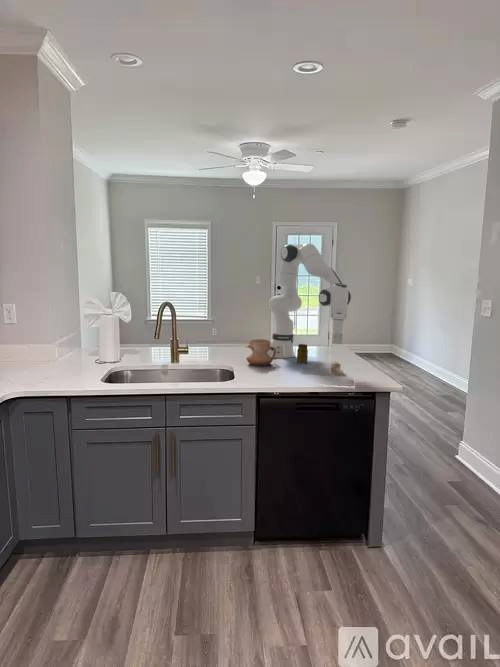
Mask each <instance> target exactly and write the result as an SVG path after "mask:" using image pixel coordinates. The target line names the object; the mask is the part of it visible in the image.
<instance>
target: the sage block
mask: <svg viewBox="0 0 500 667" xmlns="http://www.w3.org/2000/svg"><path fill="white" fill-rule="evenodd" d="M331 344H332V345H333V344H334V345H342V344H343V332H342V333H341V334H340V337H339V341H336V334H335V333H334V332H332V343H331Z"/></svg>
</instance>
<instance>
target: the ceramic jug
mask: <svg viewBox="0 0 500 667" xmlns="http://www.w3.org/2000/svg"><path fill="white" fill-rule="evenodd" d="M270 343H271V339H264V338H257V339H256V338H255V339H254V338H253V339H249V344H246V345H245V348H246V349H247V348H249V349H250V350H251V352H252V353H251V354H249V355H248V356H247V357H246V358H245V359H246V361H247V363H248V364H250V365H253V366H256V367H257V366H259V367H260V366H261V367H263V366H267V365H270V364H271V363H272V362H273V361H274V359H275V358H274V356H275V355H276V348H275V347H274V346H270ZM272 348H273V349H274V354H273V356H272V357H271V356H269V355H268V354H267V352H268V350H270V349H272Z"/></svg>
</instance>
